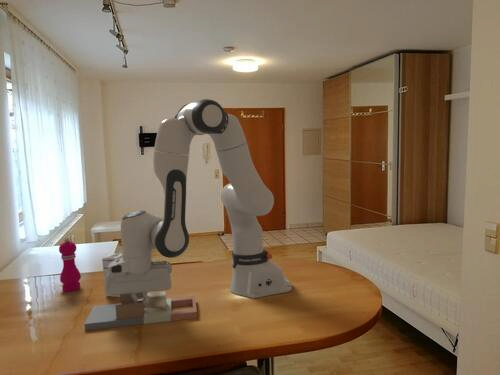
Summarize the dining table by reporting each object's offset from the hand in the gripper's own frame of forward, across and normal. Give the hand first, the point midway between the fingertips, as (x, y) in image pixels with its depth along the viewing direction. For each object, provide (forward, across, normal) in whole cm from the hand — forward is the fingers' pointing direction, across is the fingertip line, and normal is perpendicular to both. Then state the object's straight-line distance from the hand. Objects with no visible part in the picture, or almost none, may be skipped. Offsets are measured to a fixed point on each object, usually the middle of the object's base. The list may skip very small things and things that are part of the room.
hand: (140, 305), depth 127 cm
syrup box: (+4, +10, -21) cm, 24 cm away
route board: (+3, -2, 0) cm, 4 cm away
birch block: (+1, -5, 0) cm, 5 cm away
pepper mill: (+4, +29, -31) cm, 42 cm away
